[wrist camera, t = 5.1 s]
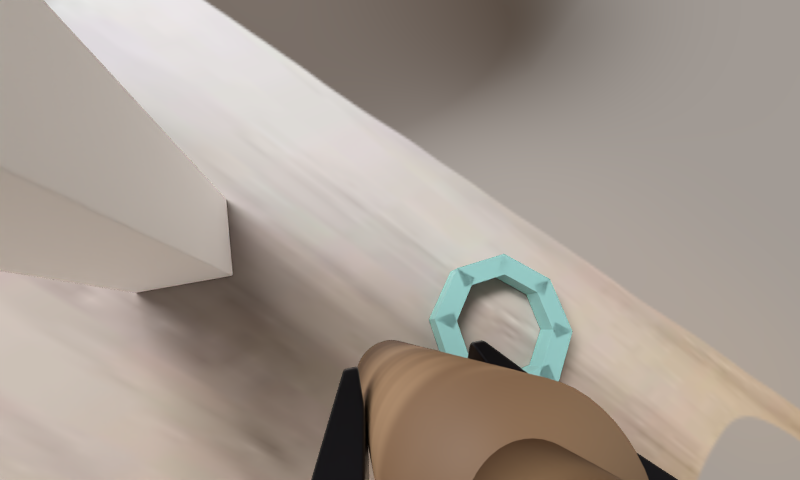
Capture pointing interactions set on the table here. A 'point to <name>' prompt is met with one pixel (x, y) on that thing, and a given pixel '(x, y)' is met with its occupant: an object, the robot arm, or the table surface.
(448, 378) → the brown peg
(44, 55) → the milk
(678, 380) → the table surface
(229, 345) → the table surface
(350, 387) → the robot arm
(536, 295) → the teal faceted ring
